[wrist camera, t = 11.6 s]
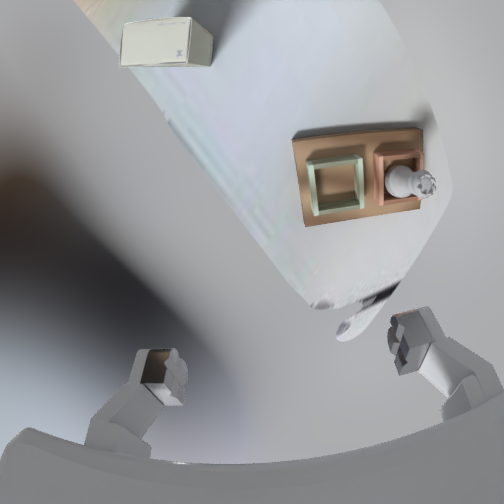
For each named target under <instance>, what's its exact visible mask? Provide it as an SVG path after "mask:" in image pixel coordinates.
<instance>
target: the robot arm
mask: <svg viewBox="0 0 504 504" xmlns="http://www.w3.org/2000/svg"><path fill="white" fill-rule="evenodd" d="M390 323H391V325H392V327H390V328H389V329H388V335H387V338H388V345H389V349H390V352H391V353H392V354H394V355H395V356H396V358H395V361H394V363H395V366H396V368H397V371H398V374H399V375H404V374H407V373H411V372H414V371H418V370H419V372H420V373H421V374H422V375H423V376H424V377H425V378H427V379H428V380H429V381H430V382H431V383H432V384H433V385H434V386H436V387H437V388H438V389H439V390H440V391H441V392H442V393H443V394H444V395H446V396H447V397H448V400H447V401H446V402H445V403H444V405H443V406H442V407H441V409H440V412H441V415H442V418H443V422H442V423H440V424H437V425H435V426H432V427H429V428H427V429H424V430H421V431H419V432H416V433H413V434H410V435H407V436H404V437H401V438H398V439H394V440H391V441H388V442H384V443H381V444H377V445H374V446H369V447H365V448H361V449H357V450H353V451H348V452H344V453H338V454H333V455H327V456H321V457H315V458H309V459H301V460H293V461H282V462H272V463H253V464H204V463H186V462H175V461H165V460H157V459H150V454H151V446H150V445H149V444H148V443H146V442H144V441H143V440H142V439H141V438H142V437H143V436H144V434H145V433H146V432H147V430H148V429H149V427H150V426H151V425H152V423H153V422H154V421H155V419H156V418H157V416H158V415H159V414H160V412H161V411H162V410H163V408H164V405H183V404H184V397H185V390H184V388H183V385H184V384H185V383H186V382H187V377H188V376H187V375H188V374H187V367H186V364H185V362H184V361H183V360H182V359H180V358H179V357H178V354H179V353H178V352H177V350H176V349H142V350H141V349H140V350H139V351H138V352H137V355H136V358H135V362H134V365H133V369H132V372H131V375H130V379H129V383H125V384H124V385H123V386H122V387H121V388H120V389H119V390H118V391H117V392H116V393H115V394H114V395H113V397H112V398H110V400H109V401H108V402H107V403H106V404H105V405H104V406H103V407H102V408H101V409H100V410H99V411H98V412H97V413H96V414H95V415H94V416H93V417H92V418H91V421H90V424H89V428H88V432H87V436H86V440H85V443H84V445H82V444H78V443H75V442H71V441H68V440H64V439H62V438H58V437H56V436H53V435H50V434H47V433H44V432H41V431H38V430H36V429H34V428H25V429H24V430H22V431H21V432H20V433H19V434H18V435H16V437H14V438H13V439H12V440H11V441H10V442H9V443H8V444H7V446H6V448H5V450H4V452H3V454H2V457H1V460H0V504H504V389H503V387H502V385H501V382H500V380H499V378H498V376H497V374H496V372H495V370H494V367H493V366H492V364H491V363H489V362H487V361H486V360H484V359H483V358H481V357H480V356H478V355H477V354H475V353H474V352H472V351H470V350H469V349H467V348H466V347H464V346H463V345H461V344H459V343H458V342H457V341H455V340H453V339H452V338H450V337H448V338H446V336H445V335H444V333H443V331H442V329H441V327H440V325H439V323H438V321H437V320H436V318H435V316H434V314H433V312H432V311H431V309H430V308H429V307H428V306H426V307H422V308H419V309H414V310H411V311H407V312H403V313H399V314H395V315H393V316H392V317H391V320H390Z"/></svg>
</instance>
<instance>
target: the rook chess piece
mask: <svg viewBox="0 0 504 504" xmlns="http://www.w3.org/2000/svg"><path fill="white" fill-rule="evenodd" d="M434 182H436V181H435V179H434V178H433V177H432V175H431V174H430V173H429V172H428V171H425V170H419V171H418V172H413V171H412V170H411V169H410V168H408V167H406V166H404V165H393V166H392V167H390V168H389V169H388V171H387V172H386V175H385V186H386V188H387V190H388V192H389V193H390V194H391V195H393V196H395V197H398V198H399V197H400V198H404V197H408V196H409V195H411V194H414V195H416V196H417V197H419V198H422V199H424V198H428V197H429V196H431V195H432V194H433V193H432V192H433V190H435V189H436V186H434Z"/></svg>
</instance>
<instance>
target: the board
mask: <svg viewBox="0 0 504 504" xmlns="http://www.w3.org/2000/svg"><path fill="white" fill-rule="evenodd" d="M292 144H293V150H294V157H295V163H296V169H297V176H298V183H299V190H300V197H301V204H302V211H303V219H304V224H305V227H309V226H315V225H321V224H327V223H333V222H339V221H345V220H351V219H358V218H364V217H370V216H376V215H383V214H389V213H396V212H402V211H409V210H415V209H420V203H421V200H422V198H419V197H417V196H416V195H414V194H411V195H409V196H408V197H404V198H400V197H399V198H398V197H395V196H393V195H391V194H390V193H389V192H388V190H387V188H386V186H385V175H386V172H387V171H388V169H389V168H390V167H392V166H393V165H404V166H406V167H408V168H410V169H411V170H412V171H413V172H418V171H419V170H423V168H424V153H423V130H421V129H419V128H400V129H382V130H368V131H356V132H346V133H337V134H328V135H320V136H312V137H305V138H298V139H292Z"/></svg>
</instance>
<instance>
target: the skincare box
mask: <svg viewBox="0 0 504 504" xmlns="http://www.w3.org/2000/svg"><path fill="white" fill-rule="evenodd" d="M213 40H214V36H213V35H212V34H211V33H210V32H209V31H207V30H206V29H205V28H204V27H203V26H201V25H200V24H199V23H198V22H196V21H195V20H194V19H193V18H191V17H168V18H156V19H148V20H140V21H134V22H128V23H124V24H123V28H122V35H121V44H120V55H119V67H122V68H124V67H210V66H211V59H212V50H213Z"/></svg>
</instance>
